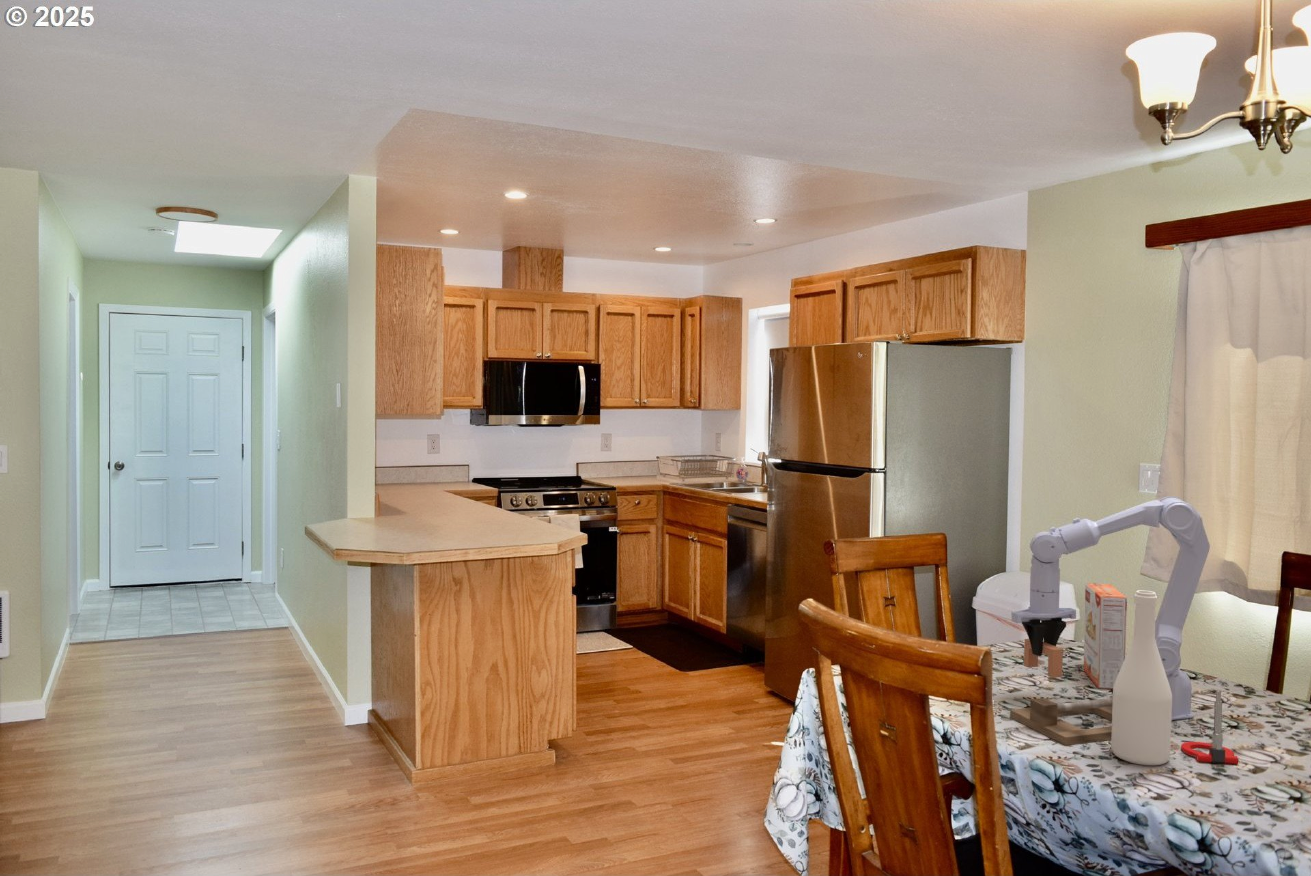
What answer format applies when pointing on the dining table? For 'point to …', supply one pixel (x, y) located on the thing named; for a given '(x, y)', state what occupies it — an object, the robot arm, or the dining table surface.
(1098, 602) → the cracker box
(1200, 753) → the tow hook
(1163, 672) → the wine bottle
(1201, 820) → the dining table surface
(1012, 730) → the dining table surface
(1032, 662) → the wooden arch block
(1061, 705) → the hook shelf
